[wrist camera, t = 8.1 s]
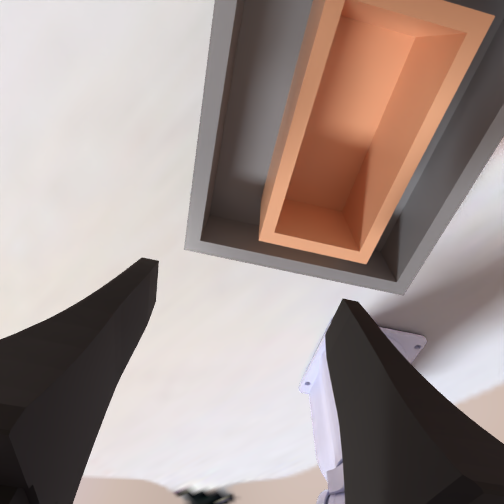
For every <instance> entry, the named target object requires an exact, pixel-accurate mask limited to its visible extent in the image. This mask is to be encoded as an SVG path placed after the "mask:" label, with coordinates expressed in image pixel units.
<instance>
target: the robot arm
mask: <svg viewBox="0 0 504 504" xmlns="http://www.w3.org/2000/svg"><path fill="white" fill-rule="evenodd" d="M158 264H159V261H157V260H152V259H147V258H141V259H139V260H138V261H137V262H135V263H134V264H133V265H131V266H130V267H129V268H128V269H126V270H125V271H124V272H122V273H121V274H120V275H118V276H117V277H116V278H114V279H113V280H111V281H110V282H109V283H107V284H106V285H104V286H103V287H102V288H100V289H99V290H97V291H95V292H94V293H92V294H91V295H89V296H88V297H86V298H84V299H83V300H81V301H80V302H78V303H76V304H75V305H73V306H71V307H69V308H68V309H66V310H64V311H62V312H60V313H58V314H57V315H55V316H53V317H51V318H49V319H47V320H45V321H42V322H40V323H38V324H36V325H33V326H31V327H29V328H27V329H25V330H22V331H20V332H18V333H16V334H13V335H11V336H8V337H6V338H3V339H0V504H73V501H74V498H75V495H76V492H77V490H78V487H79V484H80V481H81V478H82V475H83V473H84V470H85V467H86V464H87V462H88V459H89V456H90V453H91V451H92V448H93V445H94V442H95V440H96V437H97V434H98V432H99V429H100V427H101V424H102V421H103V419H104V416H105V413H106V411H107V408H108V406H109V403H110V401H111V398H112V396H113V393H114V391H115V388H116V386H117V384H118V382H119V379H120V377H121V375H122V373H123V371H124V369H125V367H126V365H127V364H128V362H129V360H130V358H131V356H132V354H133V352H134V350H135V348H136V346H137V344H138V342H139V340H140V338H141V336H142V334H143V332H144V330H145V328H146V326H147V324H148V321H149V319H150V316H151V313H152V311H153V308H154V305H155V302H156V291H157V278H158ZM426 343H427V340H426V338H425V337H424V336H422V335H417V334H412V333H407V332H402V331H397V330H392V329H387V328H382V327H378V325H377V324H376V323H375V322H374V320H373V319H372V318H371V317H370V315H369V314H368V313H367V312H366V311H365V309H364V308H363V307H362V306H361V305H360V304H359V302H357V301H352V300H347V299H342V301H341V303H340V305H339V307H338V309H337V311H336V313H335V315H334V317H333V319H332V321H331V322H330V324H329V326H328V328H327V330H326V332H325V334H324V336H323V338H322V340H321V342H320V344H319V346H318V348H317V350H316V352H315V354H314V356H313V358H312V360H311V362H310V364H309V366H308V368H307V370H306V372H305V374H304V376H303V378H302V380H301V383H300V385H299V391H300V392H301V393H306V394H309V399H310V408H311V417H312V426H313V435H314V443H315V452H316V458H317V462H318V465H319V468H320V470H321V472H322V474H323V476H324V477H325V479H326V481H327V482H328V490H324V491H323V492H321V493H320V495H319V496H318V499H317V503H316V504H504V444H503V443H502V442H500V441H499V440H498V439H496V438H495V437H494V436H492V435H491V434H490V433H488V432H487V431H486V430H484V429H483V428H482V427H480V426H479V425H478V424H476V423H475V422H474V421H473V420H471V419H470V418H469V417H468V416H466V415H465V414H464V413H463V412H462V411H460V410H459V409H458V408H457V407H456V406H455V405H453V404H452V403H451V402H450V401H449V400H448V399H446V398H445V397H444V396H443V395H442V394H441V393H440V392H439V391H438V390H436V389H435V388H434V387H433V386H432V385H431V384H430V383H429V382H428V381H427V380H426V379H425V378H424V377H423V376H422V375H421V374H420V373H419V372H418V371H417V370H416V369H415V368H414V367H413V366H412V365H411V363H412V362H413V360H414V359H415V358H416V356H417V355H418V354H419V352H420V351H421V350H422V349H423V347H424V346H425V345H426Z"/></svg>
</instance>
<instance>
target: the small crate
mask: <svg viewBox="0 0 504 504" xmlns="http://www.w3.org/2000/svg"><path fill="white" fill-rule="evenodd" d="M494 18H495V16H494V15H491V14H488V13H484V12H481V11H477V10H474V9H471V8H467V7H464V6H461V5H457V4H454V3H451V2H447V1H444V0H313V2H312V6H311V10H310V14H309V18H308V21H307V25H306V29H305V33H304V37H303V41H302V44H301V48H300V52H299V56H298V60H297V63H296V67H295V71H294V75H293V79H292V83H291V86H290V90H289V94H288V98H287V102H286V105H285V109H284V113H283V117H282V121H281V124H280V128H279V132H278V136H277V140H276V144H275V147H274V151H273V155H272V159H271V163H270V166H269V170H268V174H267V178H266V182H265V186H264V189H263V193H262V197H261V208H260V226H259V241H263V242H267V243H272V244H276V245H281V246H285V247H290V248H294V249H299V250H304V251H308V252H313V253H317V254H322V255H326V256H331V257H335V258H340V259H344V260H349V261H353V262H358V263H362V264H367V262H368V260H369V258H370V256H371V254H372V253H373V251H374V249H375V247H376V245H377V243H378V241H379V239H380V237H381V235H382V233H383V231H384V229H385V228H386V226H387V224H388V222H389V220H390V218H391V216H392V214H393V212H394V210H395V208H396V206H397V204H398V203H399V201H400V199H401V197H402V195H403V193H404V191H405V189H406V187H407V185H408V183H409V181H410V179H411V177H412V176H413V174H414V172H415V170H416V168H417V166H418V164H419V162H420V160H421V158H422V156H423V154H424V152H425V151H426V149H427V147H428V145H429V143H430V141H431V139H432V137H433V135H434V133H435V131H436V129H437V127H438V125H439V124H440V122H441V120H442V118H443V116H444V114H445V112H446V110H447V108H448V106H449V104H450V102H451V100H452V99H453V97H454V95H455V93H456V91H457V89H458V87H459V85H460V83H461V81H462V79H463V77H464V75H465V73H466V72H467V70H468V68H469V66H470V64H471V62H472V60H473V58H474V56H475V54H476V52H477V50H478V48H479V47H480V45H481V43H482V41H483V39H484V37H485V35H486V33H487V31H488V29H489V27H490V25H491V23H492V22H493V20H494Z"/></svg>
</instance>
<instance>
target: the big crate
mask: <svg viewBox="0 0 504 504" xmlns="http://www.w3.org/2000/svg"><path fill="white" fill-rule="evenodd" d="M444 1H447V2H451V3H454V4H457V5H461V6H464V7H467V8H471V9H474V10H477V11H481V12H484V13H488V14H491V15H494V16H495V18H494V20H493V22H492V23H491V25H490V27H489V29H488V31H487V33H486V35H485V37H484V39H483V41H482V43H481V45H480V47H479V48H478V50H477V52H476V54H475V56H474V58H473V60H472V62H471V64H470V66H469V68H468V70H467V72H466V73H465V75H464V77H463V79H462V81H461V83H460V85H459V87H458V89H457V91H456V93H455V95H454V97H453V99H452V100H451V102H450V104H449V106H448V108H447V110H446V112H445V114H444V116H443V118H442V120H441V122H440V124H439V125H438V127H437V129H436V131H435V133H434V135H433V137H432V139H431V141H430V143H429V145H428V147H427V149H426V151H425V152H424V154H423V156H422V158H421V160H420V162H419V164H418V166H417V168H416V170H415V172H414V174H413V176H412V177H411V179H410V181H409V183H408V185H407V187H406V189H405V191H404V193H403V195H402V197H401V199H400V201H399V203H398V204H397V206H396V208H395V210H394V212H393V214H392V216H391V218H390V220H389V222H388V224H387V226H386V228H385V229H384V231H383V233H382V235H381V237H380V239H379V241H378V243H377V245H376V247H375V249H374V251H373V253H372V254H371V256H370V258H369V260H368V262H367V264H362V263H358V262H353V261H349V260H344V259H340V258H335V257H331V256H326V255H322V254H317V253H313V252H308V251H304V250H299V249H294V248H290V247H285V246H281V245H276V244H272V243H267V242H263V241H259V226H260V208H261V197H262V193H263V189H264V186H265V182H266V178H267V174H268V170H269V166H270V163H271V159H272V155H273V151H274V147H275V144H276V140H277V136H278V132H279V128H280V124H281V121H282V117H283V113H284V109H285V105H286V102H287V98H288V94H289V90H290V86H291V83H292V79H293V75H294V71H295V67H296V63H297V60H298V56H299V52H300V48H301V44H302V41H303V37H304V33H305V29H306V25H307V21H308V18H309V14H310V10H311V6H312V2H313V0H215V4H214V12H213V20H212V28H211V36H210V44H209V52H208V60H207V69H206V77H205V85H204V93H203V101H202V109H201V117H200V125H199V133H198V141H197V149H196V157H195V165H194V173H193V181H192V189H191V197H190V206H189V214H188V222H187V230H186V238H185V246H184V250H188V251H193V252H198V253H202V254H207V255H212V256H217V257H221V258H226V259H231V260H236V261H241V262H245V263H250V264H255V265H260V266H265V267H269V268H274V269H279V270H284V271H289V272H293V273H298V274H303V275H308V276H312V277H317V278H322V279H327V280H332V281H336V282H341V283H346V284H351V285H356V286H360V287H365V288H370V289H375V290H380V291H384V292H389V293H394V294H399V295H404V294H405V292H406V291H407V289H408V287H409V286H410V284H411V283H412V281H413V280H414V278H415V276H416V275H417V273H418V272H419V270H420V268H421V267H422V265H423V264H424V262H425V260H426V259H427V257H428V256H429V254H430V252H431V251H432V249H433V248H434V246H435V245H436V243H437V241H438V240H439V238H440V237H441V235H442V233H443V232H444V230H445V229H446V227H447V225H448V224H449V222H450V221H451V219H452V218H453V216H454V214H455V213H456V211H457V210H458V208H459V206H460V205H461V203H462V202H463V200H464V198H465V197H466V195H467V194H468V192H469V191H470V189H471V187H472V186H473V184H474V183H475V181H476V179H477V178H478V176H479V175H480V173H481V171H482V170H483V168H484V167H485V165H486V164H487V162H488V160H489V159H490V157H491V156H492V154H493V152H494V151H495V149H496V148H497V146H498V144H499V143H500V141H501V140H502V138H503V136H504V0H444Z"/></svg>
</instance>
